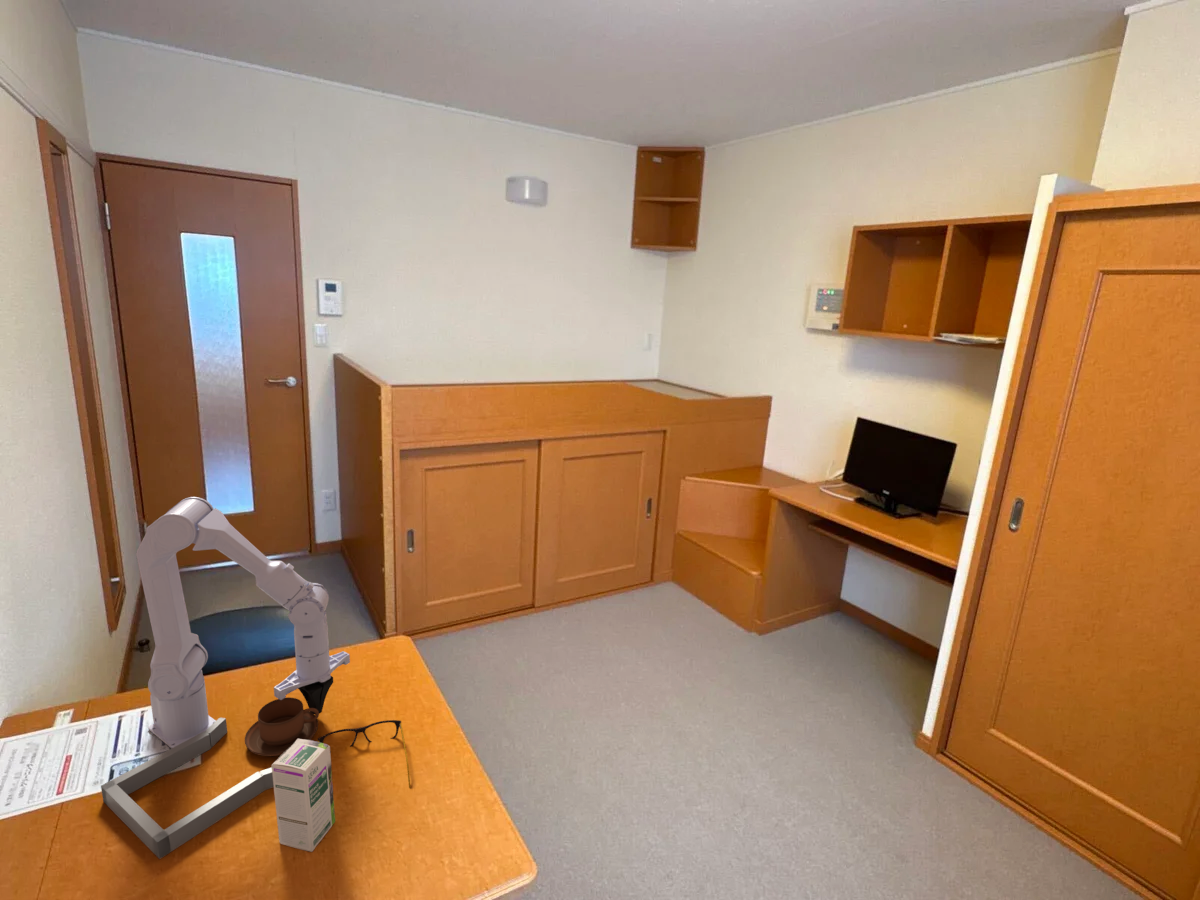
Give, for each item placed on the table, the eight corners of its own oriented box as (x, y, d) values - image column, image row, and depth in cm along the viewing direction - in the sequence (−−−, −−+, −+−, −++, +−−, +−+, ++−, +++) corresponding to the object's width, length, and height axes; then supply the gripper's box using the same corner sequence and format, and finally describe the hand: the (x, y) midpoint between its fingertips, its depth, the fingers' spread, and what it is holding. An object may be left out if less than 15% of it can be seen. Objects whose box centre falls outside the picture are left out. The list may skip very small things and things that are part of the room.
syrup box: (312, 853, 91) (307, 771, 88) (277, 844, 92) (270, 762, 89) (336, 822, 97) (331, 743, 93) (302, 814, 98) (297, 736, 94)
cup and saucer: (304, 709, 122) (303, 681, 120) (328, 741, 114) (327, 712, 112) (236, 736, 113) (234, 707, 112) (257, 773, 105) (254, 743, 104)
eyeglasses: (400, 734, 117) (400, 716, 116) (410, 790, 104) (410, 770, 103) (318, 752, 111) (317, 733, 110) (318, 814, 99) (317, 793, 98)
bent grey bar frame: (99, 797, 98) (96, 781, 98) (224, 729, 115) (222, 716, 114) (164, 864, 88) (162, 847, 87) (292, 779, 104) (290, 765, 104)
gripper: (288, 675, 108) (293, 741, 111) (358, 639, 120) (361, 700, 123) (265, 661, 111) (270, 726, 114) (335, 627, 123) (338, 687, 126)
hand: (315, 711), depth 119 cm, fingers closed
